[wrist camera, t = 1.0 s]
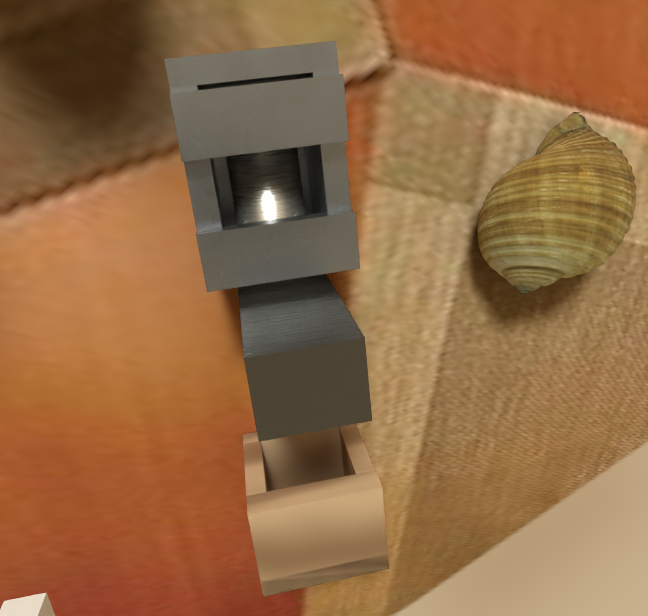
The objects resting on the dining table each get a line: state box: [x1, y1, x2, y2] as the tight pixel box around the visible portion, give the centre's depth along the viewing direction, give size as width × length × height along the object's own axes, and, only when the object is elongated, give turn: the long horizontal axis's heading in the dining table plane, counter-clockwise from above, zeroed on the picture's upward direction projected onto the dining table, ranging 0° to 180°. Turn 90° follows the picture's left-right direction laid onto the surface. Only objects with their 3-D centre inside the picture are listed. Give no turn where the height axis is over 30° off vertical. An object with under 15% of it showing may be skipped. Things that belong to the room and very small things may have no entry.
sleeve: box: [164, 41, 360, 292], centre depth 25 cm, size 9×6×7 cm
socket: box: [243, 424, 389, 596], centre depth 32 cm, size 5×7×7 cm
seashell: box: [477, 112, 636, 294], centre depth 30 cm, size 10×7×8 cm
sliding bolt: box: [226, 147, 372, 442], centre depth 24 cm, size 16×4×12 cm, turn 6°
